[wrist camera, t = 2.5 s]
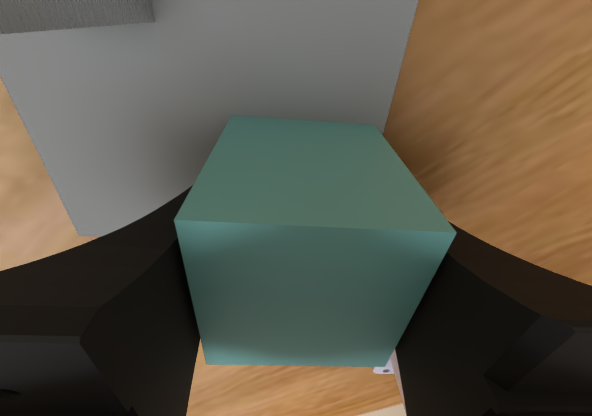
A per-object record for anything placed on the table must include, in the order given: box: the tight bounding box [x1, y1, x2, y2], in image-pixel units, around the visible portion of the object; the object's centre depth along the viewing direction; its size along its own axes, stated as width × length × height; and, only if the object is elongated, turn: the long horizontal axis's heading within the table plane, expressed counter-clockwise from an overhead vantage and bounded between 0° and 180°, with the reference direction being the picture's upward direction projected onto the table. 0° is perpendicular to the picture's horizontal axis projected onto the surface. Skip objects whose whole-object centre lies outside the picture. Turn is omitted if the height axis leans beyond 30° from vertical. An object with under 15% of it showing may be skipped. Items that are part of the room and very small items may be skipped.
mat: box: [0, 0, 418, 237], centre depth 10 cm, size 13×13×1 cm
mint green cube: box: [174, 115, 457, 367], centre depth 9 cm, size 5×5×6 cm
